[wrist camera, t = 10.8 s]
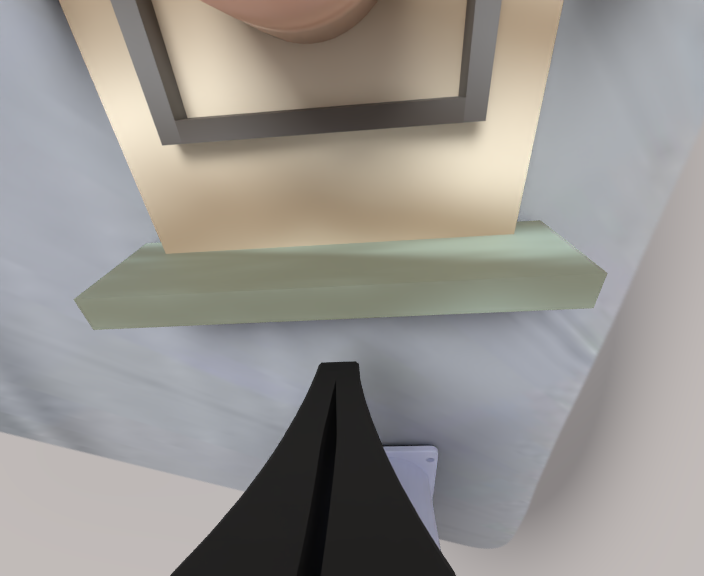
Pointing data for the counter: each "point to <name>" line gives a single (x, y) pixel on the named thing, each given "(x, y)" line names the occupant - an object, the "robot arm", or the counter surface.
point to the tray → (328, 164)
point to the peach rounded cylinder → (297, 17)
